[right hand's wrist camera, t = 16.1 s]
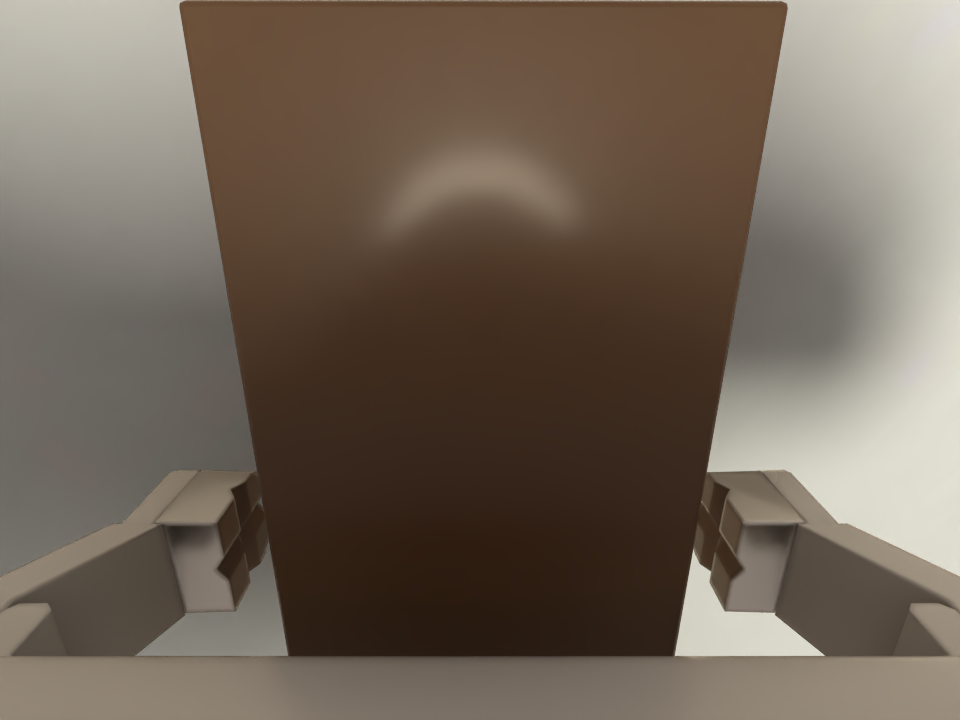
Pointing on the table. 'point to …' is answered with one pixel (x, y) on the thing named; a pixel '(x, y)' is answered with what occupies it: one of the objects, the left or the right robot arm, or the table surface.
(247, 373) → the post
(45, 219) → the table surface
